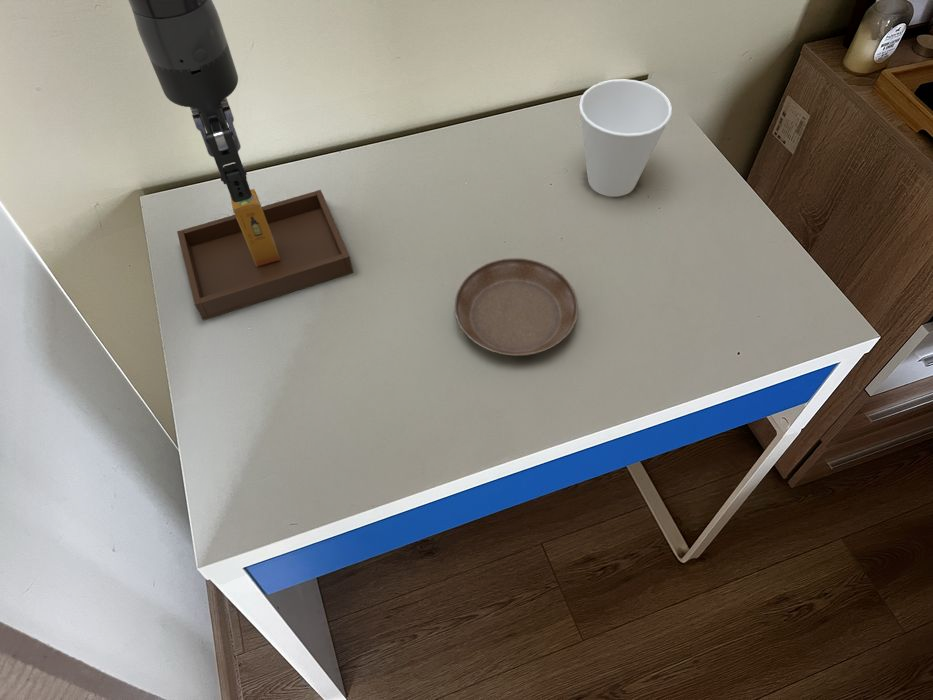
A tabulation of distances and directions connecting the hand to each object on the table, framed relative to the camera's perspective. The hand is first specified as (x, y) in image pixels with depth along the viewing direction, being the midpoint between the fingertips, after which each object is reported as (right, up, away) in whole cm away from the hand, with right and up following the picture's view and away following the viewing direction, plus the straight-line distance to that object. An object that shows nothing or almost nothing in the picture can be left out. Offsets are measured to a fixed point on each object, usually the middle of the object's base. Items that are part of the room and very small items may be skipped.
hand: (234, 175), depth 81 cm
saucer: (+33, -16, +5) cm, 37 cm away
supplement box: (0, -8, +12) cm, 14 cm away
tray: (0, -8, +12) cm, 14 cm away
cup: (+48, +4, +19) cm, 51 cm away
